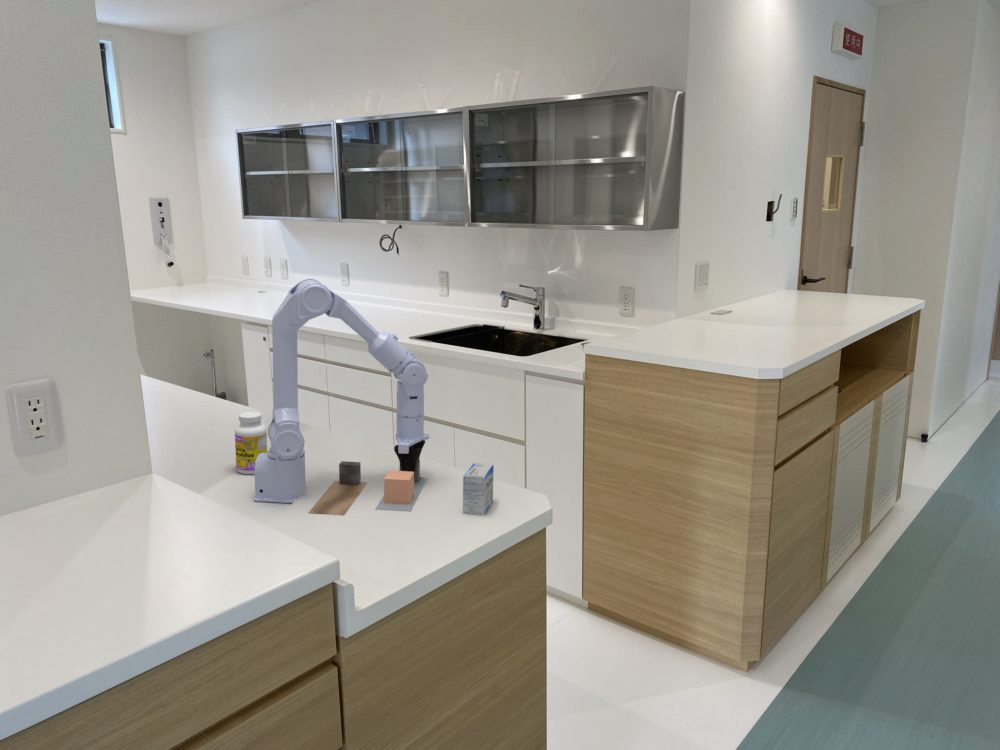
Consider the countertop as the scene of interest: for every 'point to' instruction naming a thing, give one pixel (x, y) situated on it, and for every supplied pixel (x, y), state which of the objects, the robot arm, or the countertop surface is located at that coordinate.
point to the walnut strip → (341, 491)
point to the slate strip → (408, 507)
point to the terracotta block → (399, 487)
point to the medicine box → (478, 489)
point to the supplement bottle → (249, 441)
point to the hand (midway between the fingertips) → (409, 475)
